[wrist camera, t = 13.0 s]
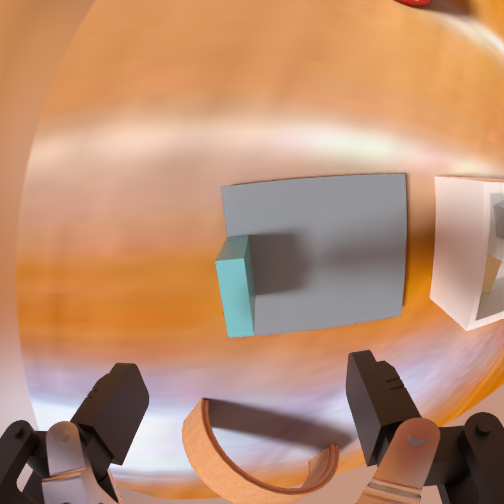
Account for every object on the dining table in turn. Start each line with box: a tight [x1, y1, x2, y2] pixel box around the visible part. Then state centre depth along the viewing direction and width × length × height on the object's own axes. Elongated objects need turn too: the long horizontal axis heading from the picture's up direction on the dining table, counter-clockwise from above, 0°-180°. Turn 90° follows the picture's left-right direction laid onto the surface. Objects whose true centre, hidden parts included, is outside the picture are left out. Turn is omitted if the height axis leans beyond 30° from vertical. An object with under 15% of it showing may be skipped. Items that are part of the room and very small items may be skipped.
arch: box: [182, 398, 339, 504], centre depth 26 cm, size 6×20×10 cm, turn 59°
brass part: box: [481, 254, 502, 295], centre depth 21 cm, size 4×4×4 cm
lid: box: [215, 174, 407, 337], centre depth 20 cm, size 15×13×8 cm
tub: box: [430, 176, 504, 331], centre depth 19 cm, size 14×12×7 cm
